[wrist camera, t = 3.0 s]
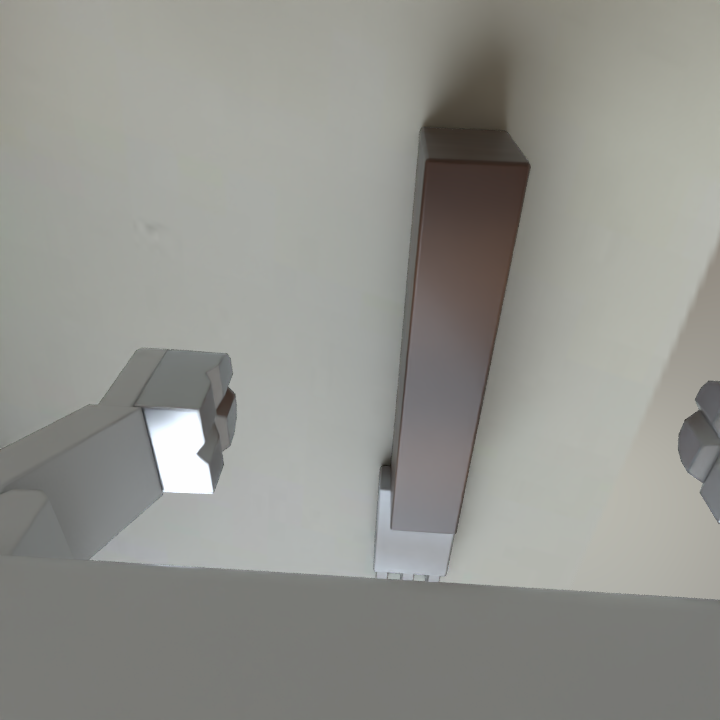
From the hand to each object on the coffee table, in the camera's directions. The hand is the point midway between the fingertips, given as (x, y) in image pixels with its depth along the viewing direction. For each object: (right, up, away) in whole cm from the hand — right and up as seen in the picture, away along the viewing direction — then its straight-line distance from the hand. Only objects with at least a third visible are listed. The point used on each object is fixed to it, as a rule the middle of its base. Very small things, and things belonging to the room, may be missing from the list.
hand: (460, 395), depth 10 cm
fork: (+1, -1, +10) cm, 10 cm away
